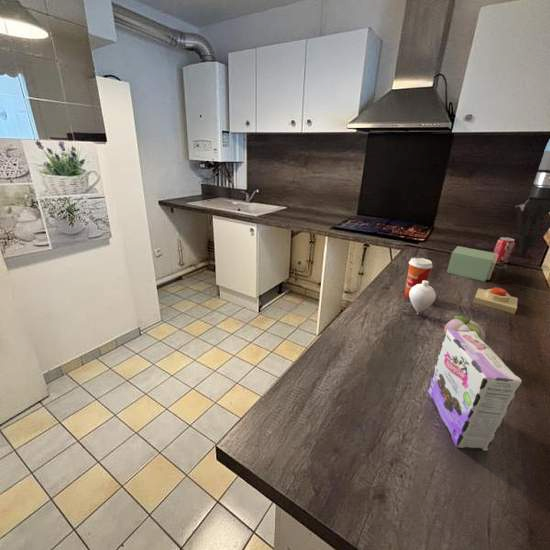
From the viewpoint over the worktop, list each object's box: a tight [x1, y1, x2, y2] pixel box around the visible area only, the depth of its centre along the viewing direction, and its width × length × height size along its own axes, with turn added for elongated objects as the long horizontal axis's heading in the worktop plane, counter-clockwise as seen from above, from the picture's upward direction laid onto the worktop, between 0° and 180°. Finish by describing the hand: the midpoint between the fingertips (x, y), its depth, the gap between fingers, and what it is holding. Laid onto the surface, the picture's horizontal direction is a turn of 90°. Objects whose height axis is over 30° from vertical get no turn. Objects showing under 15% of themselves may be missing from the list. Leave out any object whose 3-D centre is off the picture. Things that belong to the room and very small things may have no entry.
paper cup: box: [404, 257, 434, 299], centre depth 105 cm, size 8×8×14 cm
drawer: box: [486, 256, 508, 281], centre depth 127 cm, size 18×11×8 cm, turn 51°
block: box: [472, 287, 519, 315], centre depth 104 cm, size 12×10×4 cm
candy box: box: [427, 330, 523, 452], centre depth 55 cm, size 14×6×16 cm, turn 175°
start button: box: [491, 286, 507, 296], centre depth 103 cm, size 4×4×2 cm
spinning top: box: [409, 280, 437, 315], centre depth 93 cm, size 8×8×12 cm
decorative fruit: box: [443, 315, 486, 342], centre depth 77 cm, size 9×8×10 cm
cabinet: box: [446, 245, 495, 283], centre depth 129 cm, size 15×13×10 cm
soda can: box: [492, 236, 516, 265], centre depth 144 cm, size 7×7×12 cm
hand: (522, 254), depth 105 cm, fingers closed
